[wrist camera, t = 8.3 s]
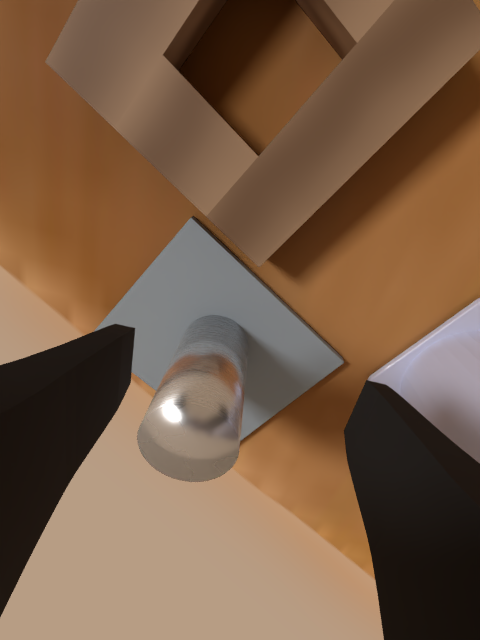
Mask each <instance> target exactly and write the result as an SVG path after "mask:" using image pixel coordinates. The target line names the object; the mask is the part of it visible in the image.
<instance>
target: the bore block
mask: <svg viewBox="0 0 480 640" xmlns="http://www.w3.org/2000/svg"><path fill="white" fill-rule="evenodd" d="M226 1H227V0H78V2H77V4H76V6H75V7H74V9H73V11H72V13H71V15H70V17H69V19H68V20H67V22H66V24H65V26H64V28H63V30H62V32H61V34H60V35H59V37H58V39H57V41H56V43H55V45H54V47H53V48H52V50H51V52H50V54H49V56H48V58H47V60H46V63H47V64H48V65H49V66H50V67H51V68H52V69H53V70H54V71H55V72H56V73H57V74H58V75H59V76H60V77H61V78H62V79H63V80H64V81H65V82H67V83H68V84H69V85H70V86H71V87H72V88H73V89H74V90H75V91H76V92H77V93H78V94H79V95H80V96H81V97H82V98H83V99H84V100H85V101H86V102H87V103H88V104H89V105H90V106H92V107H93V108H94V109H95V110H96V111H97V112H98V113H99V114H100V115H101V116H102V117H103V118H104V119H105V120H106V121H107V122H108V123H109V124H110V125H111V126H112V127H113V128H114V129H115V130H117V131H118V132H119V133H120V134H121V135H122V136H123V137H124V138H125V139H126V140H127V141H128V142H129V143H130V144H131V145H132V146H133V147H134V148H135V149H136V150H137V151H138V152H139V153H140V154H142V155H143V156H144V157H145V158H146V159H147V160H148V161H149V162H150V163H151V164H152V165H153V166H154V167H155V168H156V169H157V170H158V171H159V172H160V173H161V174H162V175H163V176H164V177H165V178H166V179H168V180H169V181H170V182H171V183H172V184H173V185H174V186H175V187H176V188H177V189H178V190H179V191H180V192H181V193H182V194H183V195H184V196H185V197H186V198H187V199H188V200H189V201H190V202H191V203H193V204H194V205H195V206H196V207H197V208H198V209H199V210H200V211H201V212H202V213H203V214H204V215H205V216H206V217H207V218H208V219H209V220H210V221H211V222H212V223H213V224H214V225H215V226H216V227H218V228H219V229H220V230H221V231H222V232H223V233H224V234H225V235H226V236H227V237H228V238H229V239H230V240H231V241H232V242H233V243H234V244H235V245H236V246H237V247H238V248H239V249H240V250H241V251H243V252H244V253H245V254H246V255H247V256H248V257H249V258H250V259H251V260H252V261H253V262H254V263H255V264H256V265H257V266H258V267H260V266H261V265H262V264H263V263H264V262H265V261H266V260H267V259H268V258H269V257H270V256H271V255H272V254H273V253H274V252H275V251H276V250H277V249H278V248H279V247H280V246H281V245H282V244H283V243H284V242H285V241H286V240H287V239H288V238H289V237H290V236H291V235H292V234H293V233H294V232H295V231H296V230H297V229H298V228H299V227H300V226H301V225H302V224H304V223H305V222H306V221H307V220H308V219H309V218H310V217H311V216H312V215H313V214H314V213H315V212H316V211H317V210H318V209H319V208H320V207H321V206H322V205H323V204H324V203H325V202H326V201H327V200H328V199H329V198H330V197H331V196H332V195H333V194H334V193H335V192H336V191H337V190H338V189H339V188H340V187H341V186H342V185H343V184H344V183H345V182H346V181H347V180H348V179H349V178H350V177H351V176H352V175H353V174H354V173H355V172H356V171H357V170H358V169H359V168H360V167H361V166H362V165H363V164H364V163H365V162H366V161H367V160H368V159H369V158H370V157H371V156H372V155H373V154H374V153H376V152H377V151H378V150H379V149H380V148H381V147H382V146H383V145H384V144H385V143H386V142H387V141H388V140H389V139H390V138H391V137H392V136H393V135H394V134H395V133H396V132H397V131H398V130H399V129H400V128H401V127H402V126H403V125H404V124H405V123H406V122H407V121H408V120H409V119H410V118H411V117H412V116H413V115H414V114H415V113H416V112H417V111H418V110H419V109H420V108H421V107H422V106H423V105H424V104H425V103H426V102H427V101H428V100H429V99H430V98H431V97H432V96H433V95H434V94H435V93H436V92H437V91H438V90H439V89H440V88H441V87H442V86H443V85H444V84H445V83H446V82H447V81H449V80H450V79H451V78H452V77H453V76H454V75H455V74H456V73H457V72H458V71H459V70H460V69H461V68H462V67H463V66H464V65H465V64H466V63H467V62H468V61H469V60H470V59H471V58H472V57H473V56H474V55H475V54H476V53H477V52H478V51H479V50H480V11H479V9H478V8H477V6H476V5H475V3H474V2H473V0H296V2H297V3H298V4H299V6H300V7H301V8H302V9H303V11H304V12H305V13H306V14H307V16H308V17H309V18H310V19H311V21H312V22H313V23H314V24H315V26H316V27H317V28H318V29H319V31H320V32H321V33H322V34H323V36H324V37H325V38H326V39H327V41H328V42H329V43H330V44H331V46H332V47H333V48H334V49H335V51H336V52H337V53H338V54H339V56H340V57H341V58H342V59H343V60H342V61H341V62H340V63H339V64H338V66H337V67H336V68H335V69H334V70H333V71H332V72H331V74H330V75H329V76H328V77H327V78H326V79H325V80H324V82H323V83H322V84H321V85H320V86H319V87H318V88H317V90H316V91H315V92H314V93H313V94H312V95H311V97H310V98H309V99H308V100H307V101H306V102H305V103H304V105H303V106H302V107H301V108H300V109H299V110H298V111H297V113H296V114H295V115H294V116H293V117H292V118H291V120H290V121H289V122H288V123H287V124H286V125H285V126H284V128H283V129H282V130H281V131H280V132H279V133H278V134H277V136H276V137H275V138H274V139H273V140H272V141H271V142H270V144H269V145H268V146H267V147H266V148H265V149H264V151H263V152H262V153H261V154H260V155H259V156H258V155H257V154H256V153H255V152H254V151H253V150H252V149H251V147H250V146H249V145H248V144H247V143H246V142H245V141H244V140H243V139H242V138H241V137H240V136H239V135H238V134H237V133H236V132H235V130H234V129H233V128H232V127H231V126H230V125H229V124H228V123H227V122H226V121H225V120H224V119H223V118H222V117H221V116H220V114H219V113H218V112H217V111H216V110H215V109H214V108H213V107H212V106H211V105H210V104H209V103H208V102H207V101H206V100H205V99H204V97H203V96H202V95H201V94H200V93H199V92H198V91H197V90H196V89H195V88H194V87H193V86H192V85H191V84H190V83H189V81H188V80H187V79H186V78H185V77H184V76H183V75H182V74H181V73H180V72H179V69H180V68H181V66H182V65H183V63H184V62H185V61H186V59H187V58H188V56H189V55H190V53H191V52H192V50H193V49H194V48H195V46H196V45H197V43H198V42H199V40H200V39H201V37H202V36H203V35H204V33H205V32H206V30H207V29H208V27H209V26H210V25H211V23H212V22H213V20H214V19H215V17H216V16H217V14H218V13H219V12H220V10H221V9H222V7H223V6H224V4H225V3H226Z"/></svg>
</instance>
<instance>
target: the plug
mask: <svg viewBox="0 0 480 640" xmlns="http://www.w3.org/2000/svg"><path fill="white" fill-rule="evenodd" d="M248 351H249V342H248V338H247V335H246V333H245V332H244V330H243V329H242V327H241V326H240V325H239V324H237V323H236V322H235V321H233V320H231V319H229V318H227V317H224V316H220V315H208V316H203V317H200V318H198V319H196V320H195V321H193V322H192V323H191V324H190V325H189V326H188V327H187V329H186V330H185V333H184V335H183V337H182V339H181V341H180V343H179V345H178V347H177V349H176V351H175V353H174V356H173V358H172V360H171V362H170V364H169V366H168V368H167V370H166V372H165V374H164V376H163V379H162V381H161V383H160V385H159V387H158V389H157V391H156V393H155V395H154V397H153V399H152V402H151V404H150V406H149V408H148V410H147V412H146V414H145V416H144V419H143V421H142V423H141V425H140V427H139V430H138V435H137V440H138V446H139V449H140V451H141V453H142V455H143V457H144V458H145V459H146V461H147V462H148V463H149V464H150V465H151V466H152V467H154V468H155V469H156V470H158V471H159V472H161V473H162V474H164V475H166V476H169V477H171V478H174V479H178V480H182V481H189V482H201V481H208V480H212V479H215V478H217V477H220V476H222V475H223V474H225V473H226V472H227V471H228V470H230V469H231V468H232V467H233V465H234V464H235V462H236V460H237V458H238V454H239V447H240V436H241V426H242V415H243V405H244V394H245V383H246V373H247V362H248Z"/></svg>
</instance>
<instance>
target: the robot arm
mask: <svg viewBox="0 0 480 640" xmlns="http://www.w3.org/2000/svg"><path fill="white" fill-rule="evenodd" d="M134 338H135V328H133V327H128V326H124V325H119V324H113V325H110V326H107V327H104V328H102V329H99V330H97V331H94V332H92V333H89V334H87V335H85V336H82V337H80V338H77V339H75V340H72V341H70V342H67V343H65V344H62V345H60V346H57V347H54V348H51V349H48V350H45V351H43V352H40V353H37V354H34V355H31V356H29V357H26V358H23V359H19V360H16V361H13V362H10V363H6V364H3V365H0V617H1V614H2V613H3V611H4V608H5V606H6V604H7V602H8V600H9V598H10V596H11V594H12V592H13V590H14V588H15V586H16V584H17V582H18V580H19V578H20V576H21V574H22V572H23V569H24V568H25V566H26V564H27V562H28V560H29V558H30V556H31V554H32V552H33V550H34V548H35V546H36V544H37V542H38V540H39V538H40V536H41V534H42V532H43V531H44V529H45V527H46V525H47V523H48V521H49V519H50V517H51V515H52V513H53V512H54V510H55V508H56V506H57V504H58V502H59V500H60V499H61V497H62V495H63V493H64V491H65V489H66V487H67V486H68V484H69V483H70V481H71V479H72V478H73V476H74V474H75V473H76V471H77V470H78V468H79V467H80V465H81V464H82V462H83V461H84V459H85V458H86V456H87V454H88V453H89V452H90V450H91V449H92V447H93V446H94V444H95V443H96V441H97V440H98V438H99V437H100V436H101V434H102V432H103V431H104V430H105V428H106V426H107V425H108V423H109V422H110V420H111V419H112V417H113V416H114V414H115V413H116V411H117V409H118V408H119V405H120V404H121V401H122V400H123V398H124V396H125V393H126V391H127V389H128V387H129V385H130V382H131V371H132V360H133V349H134ZM344 435H345V445H346V453H347V461H348V465H349V469H350V473H351V477H352V481H353V485H354V489H355V492H356V496H357V500H358V503H359V507H360V511H361V515H362V518H363V522H364V526H365V530H366V533H367V537H368V542H369V546H370V551H371V556H372V562H373V568H374V574H375V580H376V586H377V592H378V599H379V606H380V613H381V620H382V628H383V635H384V640H480V298H478V299H477V300H475V301H474V302H472V303H471V304H470V305H468V306H467V307H465V308H464V309H463V310H461V311H460V312H458V313H457V314H456V315H454V316H453V317H451V318H450V319H449V320H447V321H446V322H444V323H443V324H442V325H440V326H439V327H437V328H436V329H435V330H433V331H432V332H430V333H429V334H428V335H426V336H425V337H423V338H422V339H421V340H419V341H418V342H416V343H415V344H414V345H412V346H411V347H409V348H408V349H407V350H405V351H404V352H402V353H401V354H400V355H398V356H397V357H395V358H394V359H393V360H391V361H390V362H388V363H387V364H386V365H384V366H383V367H381V368H380V369H379V370H377V371H376V372H374V373H373V374H372V375H370V376H369V378H368V380H366V383H365V385H364V387H363V389H362V392H361V394H360V396H359V398H358V400H357V403H356V405H355V407H354V409H353V412H352V414H351V416H350V418H349V421H348V423H347V425H346V427H345V430H344Z"/></svg>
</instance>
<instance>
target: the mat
mask: <svg viewBox="0 0 480 640" xmlns="http://www.w3.org/2000/svg"><path fill="white" fill-rule="evenodd" d="M208 315H220V316H224V317H227V318H229V319H231V320H233V321H235V322H236V323H237V324H239V325H240V326H241V327H242V329H243V330H244V332H245V333H246V335H247V338H248V342H249V351H248V362H247V373H246V383H245V394H244V405H243V415H242V426H241V436H240V441H241V440H242V439H243V438H245V437H246V436H247V435H249V434H250V433H251V432H253V431H254V430H255V429H257V428H258V427H259V426H261V425H262V424H263V423H265V422H266V421H267V420H269V419H270V418H271V417H273V416H274V415H275V414H277V413H278V412H279V411H281V410H282V409H283V408H285V407H286V406H287V405H288V404H290V403H291V402H292V401H294V400H295V399H296V398H298V397H299V396H300V395H302V394H303V393H304V392H306V391H307V390H308V389H310V388H311V387H312V386H314V385H315V384H316V383H318V382H319V381H320V380H322V379H323V378H324V377H326V376H327V375H328V374H330V373H331V372H332V371H334V370H335V369H336V368H338V367H339V366H340V365H342V364H343V363H344V361H343V358H342V357H341V356H340V355H339V354H338V353H337V352H336V351H335V350H334V349H333V348H332V347H331V346H330V345H329V344H328V343H327V342H326V341H325V340H323V339H322V338H321V337H320V336H319V335H318V334H317V333H316V332H315V331H314V330H313V329H312V328H311V327H310V326H309V325H308V324H307V323H306V322H305V321H303V320H302V319H301V318H300V317H299V316H298V315H297V314H296V313H295V312H294V311H293V310H292V309H291V308H290V307H289V306H288V305H287V304H286V303H285V302H283V301H282V300H281V299H280V298H279V297H278V296H277V295H276V294H275V293H274V292H273V291H272V290H271V289H270V288H269V287H268V286H267V285H266V284H265V283H263V282H262V281H261V280H260V279H259V278H258V277H257V276H256V275H255V274H254V273H253V272H252V271H251V270H250V269H249V268H248V267H247V266H246V265H245V264H243V263H242V262H241V261H240V260H239V259H238V258H237V257H236V256H235V255H234V254H233V253H232V252H231V251H230V250H229V249H228V248H227V247H226V246H225V245H223V244H222V243H221V242H220V241H219V240H218V239H217V238H216V237H215V236H214V235H213V234H212V233H211V232H210V231H209V230H208V229H207V228H206V227H205V226H203V225H202V224H201V223H200V222H199V221H198V220H197V219H196V218H195V217H194V216H193V217H191V218H190V219H189V220H188V222H187V223H186V224H185V225H184V226H183V228H182V229H181V230H180V231H179V232H178V233H177V235H176V236H175V237H174V238H173V239H172V240H171V242H170V243H169V244H168V245H167V246H166V247H165V249H164V250H163V251H162V252H161V253H160V255H159V256H158V257H157V258H156V259H155V260H154V262H153V263H152V264H151V265H150V266H149V267H148V269H147V270H146V271H145V272H144V273H143V275H142V276H141V277H140V278H139V279H138V280H137V282H136V283H135V284H134V285H133V286H132V287H131V289H130V290H129V291H128V292H127V293H126V294H125V296H124V297H123V298H122V299H121V300H120V302H119V303H118V304H117V305H116V306H115V307H114V309H113V310H112V311H111V312H110V313H109V314H108V316H107V317H106V318H105V319H104V320H103V321H102V323H101V324H100V325H99V326H98V327H97V329H96V330H95V331H97V330H99V329H102V328H104V327H107V326H110V325H113V324H119V325H124V326H128V327H133V328H135V338H134V349H133V360H132V371H131V372H132V373H134V374H135V375H136V376H138V377H139V378H140V379H142V380H143V381H144V382H145V383H147V384H148V385H149V386H151V387H152V388H153V389H155V390H156V391H157V389H158V387H159V385H160V383H161V381H162V379H163V376H164V374H165V372H166V370H167V368H168V366H169V364H170V362H171V360H172V358H173V356H174V353H175V351H176V349H177V347H178V345H179V343H180V341H181V339H182V337H183V335H184V333H185V330H186V329H187V327H188V326H189V325H190V324H191V323H192V322H193V321H195V320H196V319H198V318H200V317H203V316H208Z"/></svg>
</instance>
